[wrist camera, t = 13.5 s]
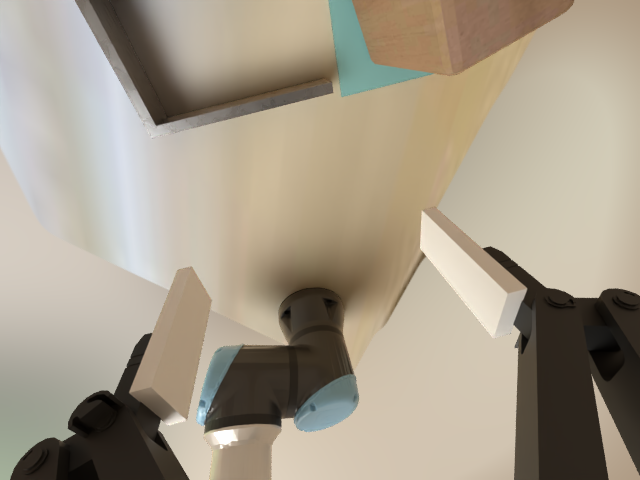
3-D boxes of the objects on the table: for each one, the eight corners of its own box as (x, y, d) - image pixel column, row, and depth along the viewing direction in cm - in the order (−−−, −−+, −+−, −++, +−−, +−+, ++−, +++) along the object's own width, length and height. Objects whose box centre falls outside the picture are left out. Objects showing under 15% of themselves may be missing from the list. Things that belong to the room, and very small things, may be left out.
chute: (326, 87, 38) (333, 92, 34) (163, 128, 38) (151, 138, 34) (301, -67, 29) (307, -84, 25) (88, -16, 29) (60, -26, 25)
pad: (448, 69, 40) (450, 69, 39) (341, 96, 39) (342, 96, 39) (463, -128, 29) (465, -129, 29) (316, -93, 29) (316, -94, 28)
